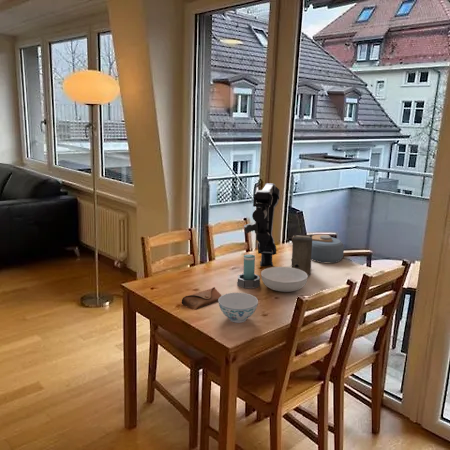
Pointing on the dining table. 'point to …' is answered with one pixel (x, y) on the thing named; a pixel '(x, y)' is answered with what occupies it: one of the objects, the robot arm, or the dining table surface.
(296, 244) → the vintage camera
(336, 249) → the grey squat cylinder
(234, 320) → the chinaware
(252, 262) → the teal peg
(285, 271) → the serving bowl
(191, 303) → the sunglasses case
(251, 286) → the socket ring
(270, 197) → the robot arm
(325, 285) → the dining table surface
